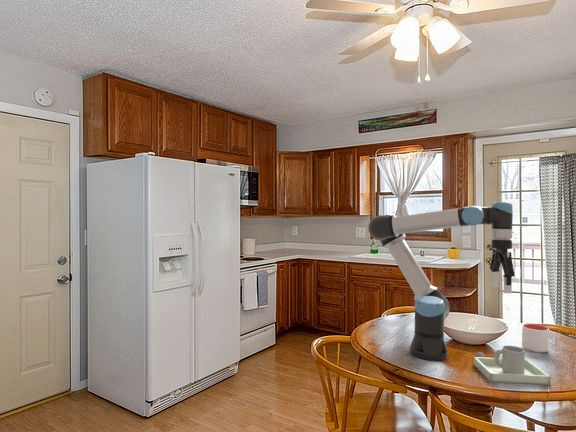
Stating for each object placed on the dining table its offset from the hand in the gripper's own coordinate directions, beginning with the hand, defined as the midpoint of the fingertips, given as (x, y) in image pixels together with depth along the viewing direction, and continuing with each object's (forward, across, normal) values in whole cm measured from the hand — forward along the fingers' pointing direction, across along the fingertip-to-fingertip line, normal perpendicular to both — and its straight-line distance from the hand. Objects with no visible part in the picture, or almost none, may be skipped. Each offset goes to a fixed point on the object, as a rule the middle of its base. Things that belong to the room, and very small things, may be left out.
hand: (501, 289), depth 163 cm
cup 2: (+28, +12, -19) cm, 36 cm away
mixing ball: (+26, -7, +10) cm, 29 cm away
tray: (+28, -19, +3) cm, 34 cm away
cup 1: (+28, -18, +3) cm, 33 cm away
